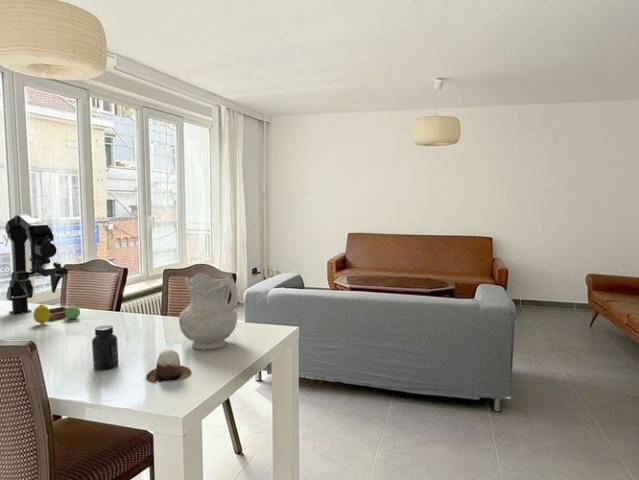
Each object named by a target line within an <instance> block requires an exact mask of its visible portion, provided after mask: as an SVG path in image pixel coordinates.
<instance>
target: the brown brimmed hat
mask: <svg viewBox="0 0 639 480" xmlns="http://www.w3.org/2000/svg"><path fill="white" fill-rule="evenodd" d="M155 364H156V367H155V368H154V369H152V370H150V371H149V372H148V373H147V374H146V380H147V381H148V382H150V383H153V384H156V383H157V384H158V383H162V382H168V381H169V382H171V381H172V382H173V381H177V382H178V381H183V380H186V379H188V378H189V377H190V376H191V374H192V370H191V369H190V368H189V367H188V366H185V365H181V359H180V356H179V353H178V352H177V351H176V350H174V349H165V350H163V351H162V352H160V353H159V355H158V358H157V361H156V363H155Z"/></svg>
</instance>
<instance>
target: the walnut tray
mask: <svg viewBox="0 0 639 480" xmlns="http://www.w3.org/2000/svg"><path fill="white" fill-rule="evenodd" d="M68 307H69V306H58V307H54V308H53V307H52V308H48V309H49V311H50V318H49V319H48V321H56V320H61V319H65V318H66V316H65V310H66V309H67V308H68Z"/></svg>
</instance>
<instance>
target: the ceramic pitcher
mask: <svg viewBox="0 0 639 480" xmlns="http://www.w3.org/2000/svg"><path fill="white" fill-rule="evenodd" d="M223 279H224V281H223ZM223 279H220V278H219V279H217V278H215V279H212V278H211V277H210V275H209V274H206V273H202V272H197V273H196V274H193V276H192V277H191V278H190V279H189V277H188V276H185V277H184V281H185V285H186V287H187V290H188V292H189V294H190V303H189V305H188V306H187V307H186V308H184V309H183V310H182V311H181V312H180V313H179V318H178V322H179V323H178V324H179V328H180V331H181V333H182V334H183V335H184V337H186V339H187V340H189V341H192V345H191V346H192V348H194V349H195V350H198V351H203V350H204V351H205V350H219V349H221V348H223V347H226V346H227V343H228V342H227V341H226V339H228V338H229V337H230V336H231V335H232V333H234V330H235V329H236V326H237V323H238V313H237V311H236V310H235V305H236V303H237V301H238V296H237V295H238V291H237V290H238V289H237V285H236V282H235V278H234V276H232V275H225V276H223ZM227 288H228V289H229V290H230V295H231V296H230V300H229V302H228V303H227V302H226V300H225V299H226V298H225V296H226V292H227Z"/></svg>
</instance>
